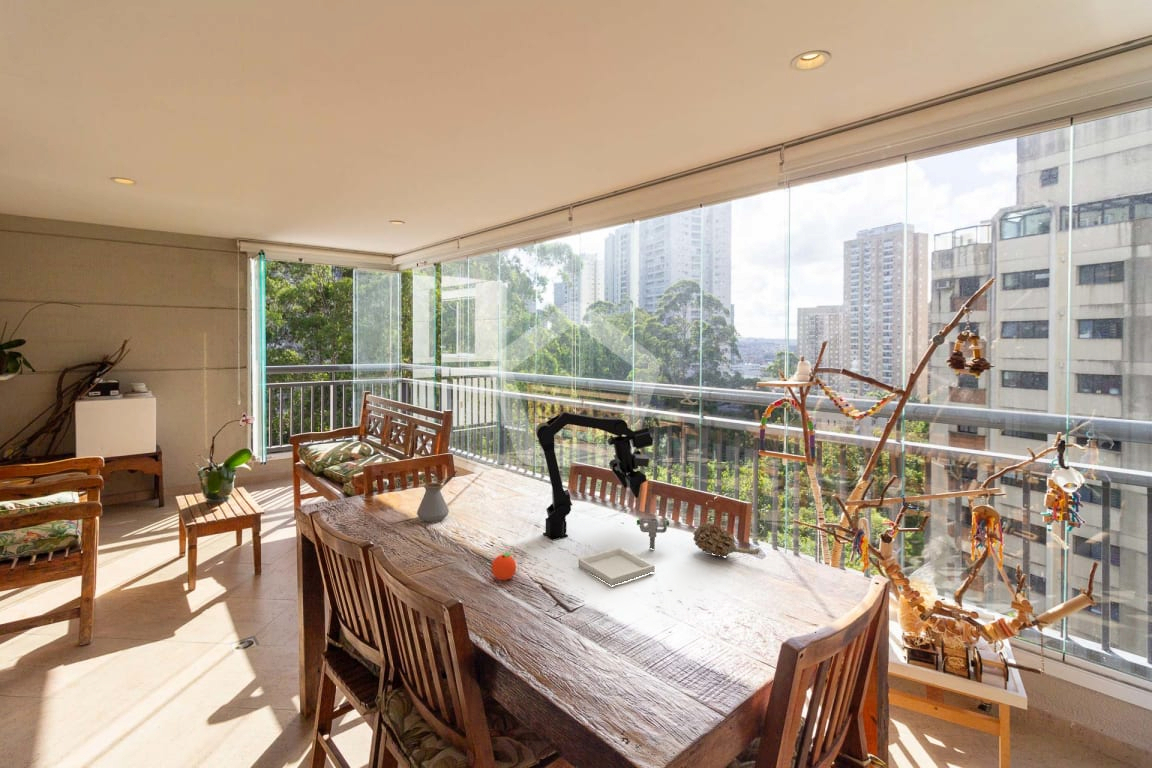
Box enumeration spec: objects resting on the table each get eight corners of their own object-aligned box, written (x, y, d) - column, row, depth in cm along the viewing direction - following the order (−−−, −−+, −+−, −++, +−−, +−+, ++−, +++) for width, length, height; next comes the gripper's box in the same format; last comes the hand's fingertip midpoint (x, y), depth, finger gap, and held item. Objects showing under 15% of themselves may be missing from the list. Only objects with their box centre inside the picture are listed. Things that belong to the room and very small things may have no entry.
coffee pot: (436, 526, 200) (436, 485, 199) (410, 521, 204) (409, 481, 203) (469, 509, 220) (469, 471, 218) (445, 505, 224) (445, 468, 223)
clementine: (506, 570, 165) (507, 547, 164) (523, 577, 160) (523, 553, 160) (486, 579, 159) (486, 555, 158) (503, 586, 154) (503, 561, 154)
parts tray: (611, 587, 155) (611, 578, 155) (578, 566, 168) (578, 558, 168) (654, 573, 164) (654, 565, 164) (619, 555, 177) (619, 547, 177)
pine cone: (687, 555, 179) (688, 524, 178) (698, 545, 186) (699, 516, 186) (757, 572, 166) (758, 540, 165) (766, 562, 174) (767, 531, 173)
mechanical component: (668, 551, 181) (669, 521, 180) (636, 550, 181) (637, 520, 180) (667, 548, 184) (668, 518, 183) (635, 547, 184) (636, 517, 183)
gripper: (656, 453, 188) (663, 495, 192) (632, 437, 205) (639, 475, 209) (626, 464, 184) (634, 506, 189) (605, 447, 202) (612, 485, 206)
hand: (631, 492), depth 198 cm, fingers open, 9 cm apart
